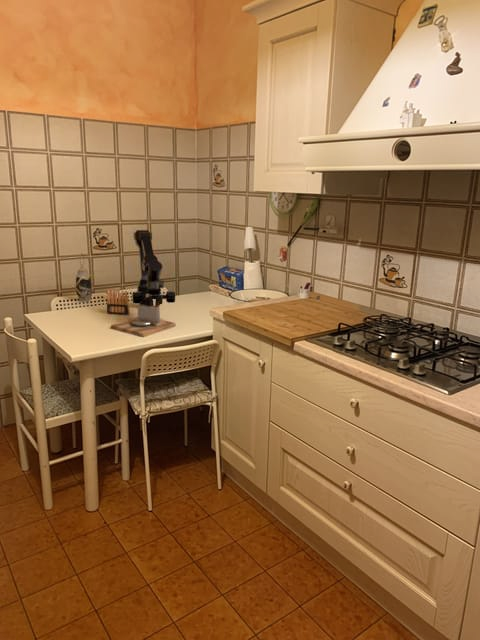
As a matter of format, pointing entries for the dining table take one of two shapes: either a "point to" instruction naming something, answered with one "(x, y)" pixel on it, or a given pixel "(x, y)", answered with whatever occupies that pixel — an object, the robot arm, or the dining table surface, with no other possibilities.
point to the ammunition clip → (117, 303)
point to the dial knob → (147, 315)
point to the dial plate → (142, 327)
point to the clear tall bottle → (83, 284)
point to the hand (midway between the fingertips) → (154, 313)
